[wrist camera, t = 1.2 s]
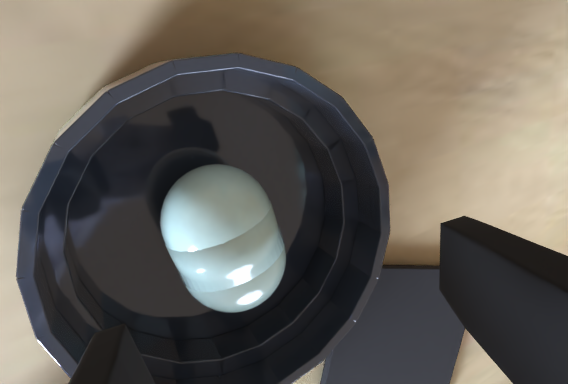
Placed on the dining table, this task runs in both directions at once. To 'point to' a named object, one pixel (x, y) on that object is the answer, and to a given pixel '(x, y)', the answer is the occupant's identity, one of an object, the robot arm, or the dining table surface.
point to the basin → (147, 233)
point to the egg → (223, 237)
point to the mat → (399, 333)
